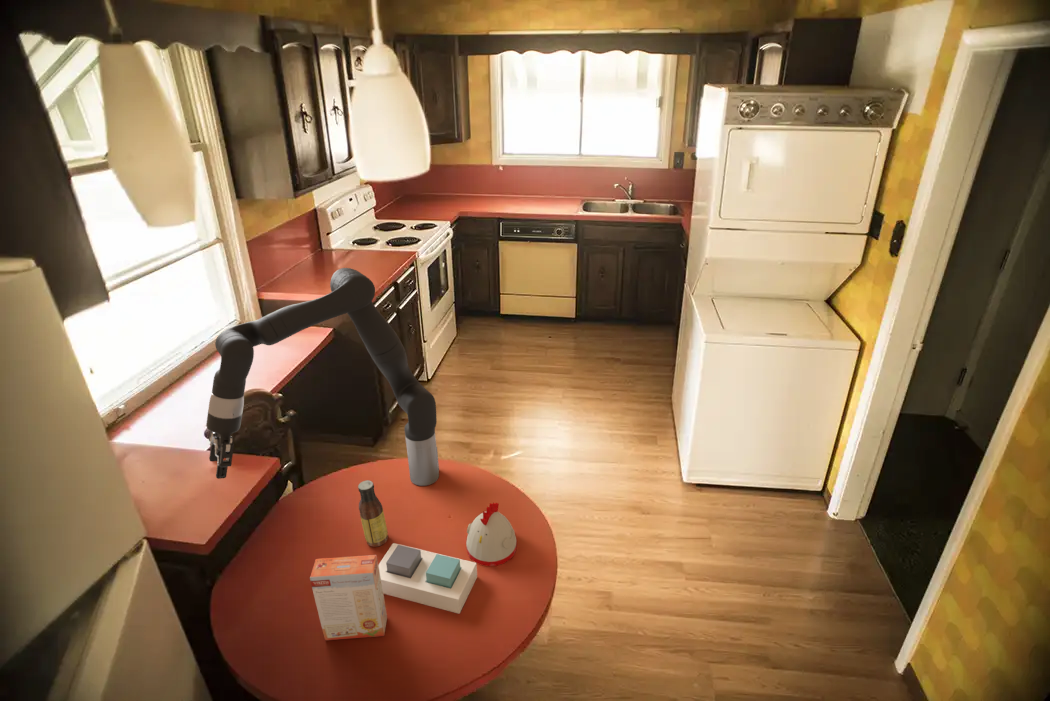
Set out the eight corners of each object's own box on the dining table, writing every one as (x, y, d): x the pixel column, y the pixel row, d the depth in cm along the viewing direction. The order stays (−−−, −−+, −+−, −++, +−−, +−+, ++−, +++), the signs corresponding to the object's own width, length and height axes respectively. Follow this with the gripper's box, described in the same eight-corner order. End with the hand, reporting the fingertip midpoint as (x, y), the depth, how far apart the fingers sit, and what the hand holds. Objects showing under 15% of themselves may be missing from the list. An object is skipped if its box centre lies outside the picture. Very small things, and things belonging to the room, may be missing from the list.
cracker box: (387, 615, 146) (377, 553, 137) (384, 637, 141) (373, 573, 131) (329, 619, 146) (315, 556, 136) (324, 641, 140) (308, 577, 131)
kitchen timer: (456, 554, 164) (453, 513, 157) (483, 522, 175) (481, 482, 168) (500, 573, 158) (499, 530, 151) (525, 539, 169) (524, 497, 162)
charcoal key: (399, 555, 158) (398, 544, 156) (421, 561, 156) (420, 550, 155) (387, 574, 153) (386, 562, 151) (410, 580, 151) (409, 568, 149)
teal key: (437, 565, 155) (436, 553, 153) (460, 570, 153) (459, 559, 152) (427, 584, 150) (425, 572, 148) (450, 590, 148) (449, 578, 146)
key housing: (395, 556, 163) (393, 542, 161) (477, 576, 157) (476, 562, 155) (372, 590, 153) (370, 576, 151) (459, 613, 147) (458, 599, 144)
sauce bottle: (391, 532, 171) (383, 477, 162) (384, 548, 166) (375, 493, 157) (369, 531, 172) (359, 476, 163) (361, 547, 166) (351, 491, 157)
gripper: (249, 423, 143) (239, 482, 147) (235, 397, 153) (227, 454, 157) (214, 424, 138) (205, 485, 142) (203, 398, 148) (195, 456, 152)
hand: (217, 468), depth 150 cm, fingers open, 8 cm apart
